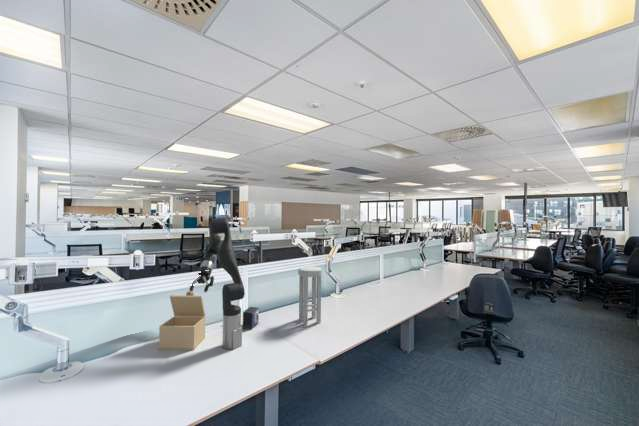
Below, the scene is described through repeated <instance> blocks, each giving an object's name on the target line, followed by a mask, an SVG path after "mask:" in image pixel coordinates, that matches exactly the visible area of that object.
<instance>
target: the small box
mask: <svg viewBox="0 0 639 426" xmlns="http://www.w3.org/2000/svg"><path fill="white" fill-rule="evenodd" d="M259 310H260V308H259V307H255V306H249V307H248V308H247V309H245V310H244V311H243V312H242V330H253V329H254V328H255V327H256V326H258V324H259V318H260V317H259V314H260V313H259V312H260V311H259Z"/></svg>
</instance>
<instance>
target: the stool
mask: <svg viewBox="0 0 639 426" xmlns="http://www.w3.org/2000/svg"><path fill="white" fill-rule="evenodd" d="M297 272H298V274H297V275H298V276H299V287H298V288H299V290H298V291H299V293H298V294H299V295H298V297H299V298H298V301H299V302H298V319H299V321H302V324H303V325H304V326H307V325H308V319H309V318H308V317H309V316H308V313H309V312H311V318H312V319H316V320H315V322H316V323H317V324H321V322H322V318H321V317H322V316H321V315H322V314H321V313H322V305H321V304H322V275H323V268H321V267H318V266H302V267H299V268H298V271H297ZM309 278H311V299H309ZM308 303H310V304H308ZM309 307H311V308H309Z"/></svg>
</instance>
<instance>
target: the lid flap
mask: <svg viewBox="0 0 639 426" xmlns="http://www.w3.org/2000/svg"><path fill="white" fill-rule="evenodd" d="M169 300H170V303H171V308H172V312H173V315H174V316H173V317H205V318H206V310H205V305H204V301H203V296H202V295H195V293H194V291H190V290H188V291H187V292H186V293H185V295H183V294H182V295H178V294H177V295H175V294H174V295H172V294H171V295H169Z"/></svg>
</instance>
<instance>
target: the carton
mask: <svg viewBox="0 0 639 426" xmlns="http://www.w3.org/2000/svg"><path fill="white" fill-rule="evenodd" d="M158 330H159V331H158V332H159V334H158V335H159V337H158V340H159V341H158V350H163V351H164V350H165V351H166V350H170V351H171V350H172V351H174V350H175V351H194V350H195V349H196V348H198V347H199V345H200V344H201V343H202V342H203V341H204V340H205V338H206V316H205V317H183V316H173V317H170V319H168V320H167V321H165V322H163V323H162V324H161V325H159V329H158Z"/></svg>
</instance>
